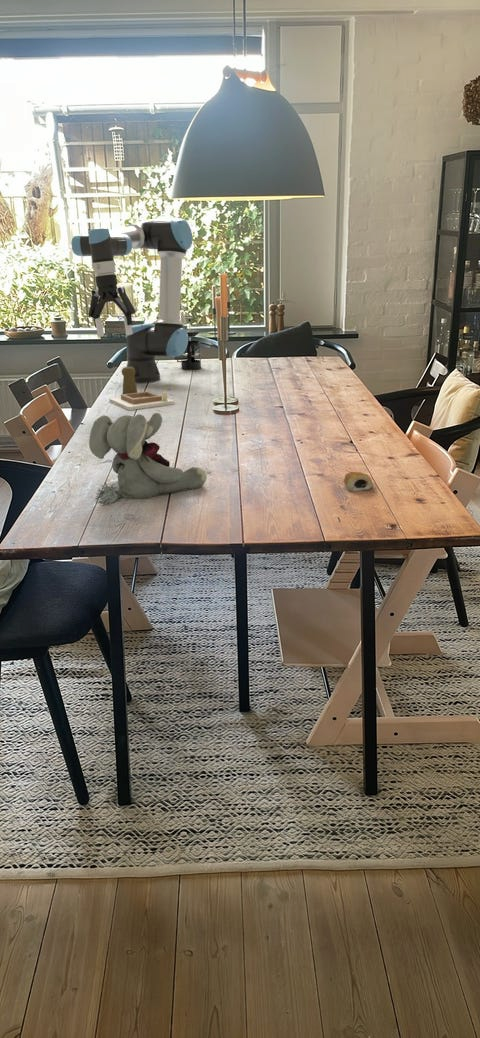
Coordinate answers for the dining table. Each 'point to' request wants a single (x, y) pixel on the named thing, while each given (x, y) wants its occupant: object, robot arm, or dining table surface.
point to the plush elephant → (138, 459)
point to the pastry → (357, 481)
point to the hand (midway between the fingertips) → (115, 335)
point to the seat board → (141, 400)
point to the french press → (191, 351)
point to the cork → (129, 380)
